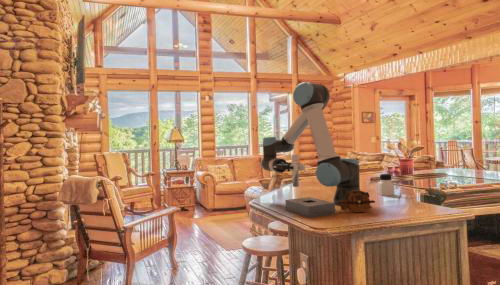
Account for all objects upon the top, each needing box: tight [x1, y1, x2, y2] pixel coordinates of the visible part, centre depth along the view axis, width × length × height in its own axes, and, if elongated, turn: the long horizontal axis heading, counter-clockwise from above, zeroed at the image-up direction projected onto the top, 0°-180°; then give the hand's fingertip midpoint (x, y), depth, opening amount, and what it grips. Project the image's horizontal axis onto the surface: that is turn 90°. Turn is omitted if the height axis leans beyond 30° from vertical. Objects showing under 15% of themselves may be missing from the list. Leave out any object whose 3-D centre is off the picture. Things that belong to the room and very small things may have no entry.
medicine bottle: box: [377, 173, 395, 197], centre depth 217 cm, size 7×7×12 cm
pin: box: [291, 153, 300, 188], centre depth 189 cm, size 3×3×16 cm
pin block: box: [285, 196, 336, 219], centre depth 175 cm, size 20×14×5 cm
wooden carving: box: [338, 190, 376, 213], centre depth 171 cm, size 16×5×10 cm, turn 87°
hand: (300, 167), depth 184 cm, fingers closed on pin, 3 cm apart
